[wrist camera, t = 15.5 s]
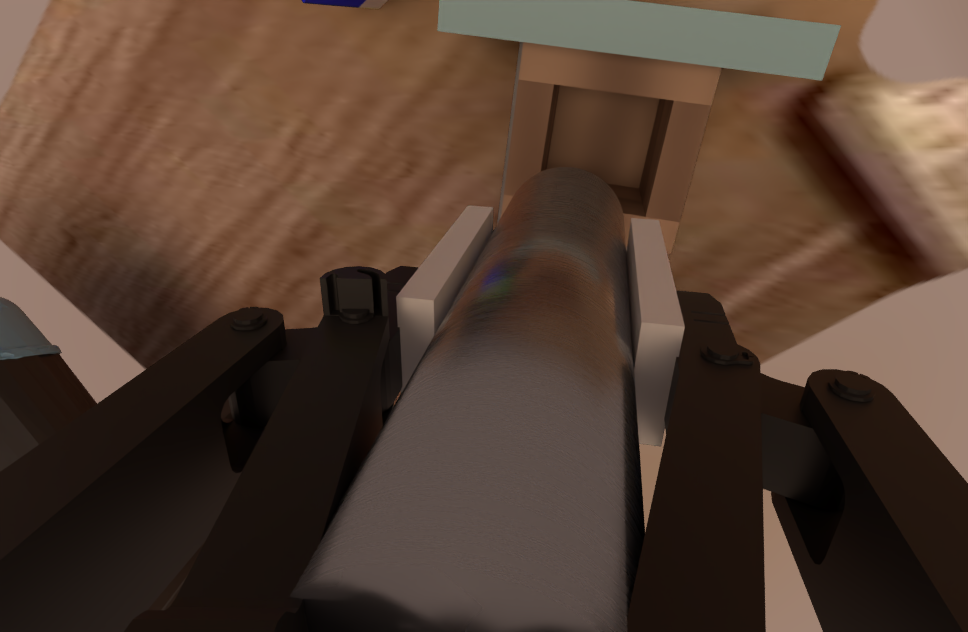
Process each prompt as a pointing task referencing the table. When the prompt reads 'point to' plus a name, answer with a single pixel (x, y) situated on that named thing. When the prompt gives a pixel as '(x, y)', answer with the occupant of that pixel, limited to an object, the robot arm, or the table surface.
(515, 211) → the dowel
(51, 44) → the table surface
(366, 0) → the puzzle toy
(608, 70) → the brown wooden box
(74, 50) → the table surface
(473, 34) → the backstop
